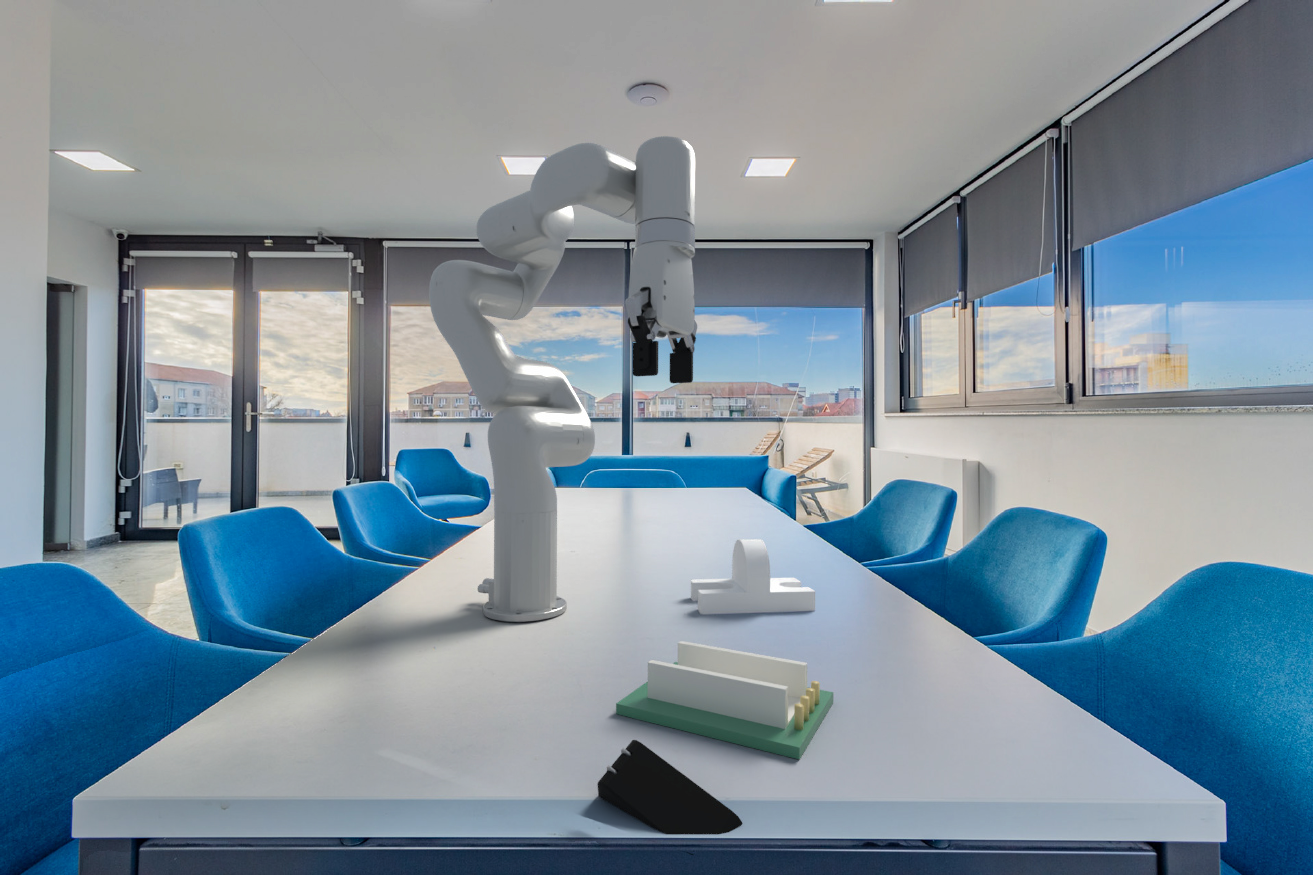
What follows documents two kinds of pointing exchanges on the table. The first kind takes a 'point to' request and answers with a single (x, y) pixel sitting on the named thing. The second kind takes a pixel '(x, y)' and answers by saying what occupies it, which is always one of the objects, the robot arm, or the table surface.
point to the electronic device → (662, 795)
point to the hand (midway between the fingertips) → (664, 379)
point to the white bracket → (751, 586)
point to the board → (732, 698)
